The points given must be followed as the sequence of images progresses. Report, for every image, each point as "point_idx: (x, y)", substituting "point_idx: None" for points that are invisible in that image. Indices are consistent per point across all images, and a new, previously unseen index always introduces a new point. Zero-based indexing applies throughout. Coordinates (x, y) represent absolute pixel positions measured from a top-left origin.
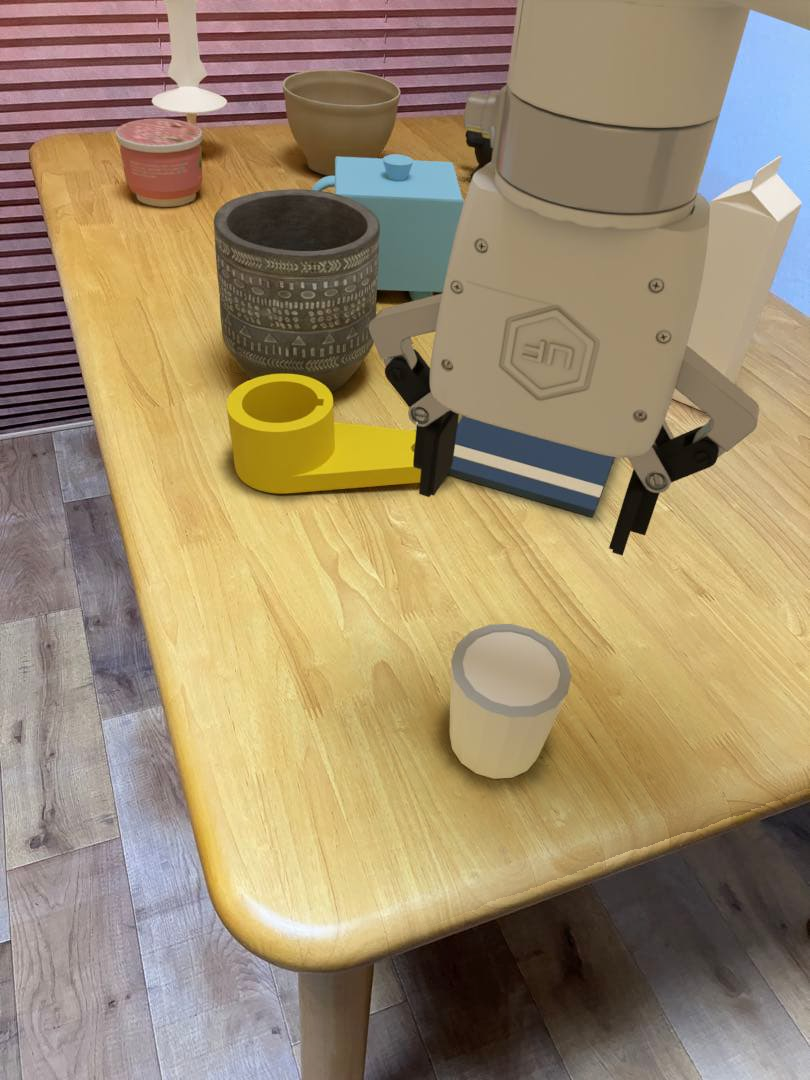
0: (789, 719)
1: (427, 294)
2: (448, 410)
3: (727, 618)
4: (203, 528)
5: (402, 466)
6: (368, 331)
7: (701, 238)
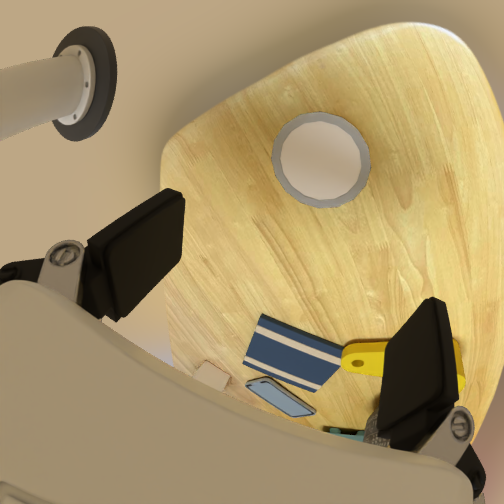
0: (165, 179)
1: (332, 431)
2: (424, 445)
3: (192, 243)
4: (486, 312)
5: (372, 352)
6: (372, 425)
7: None
